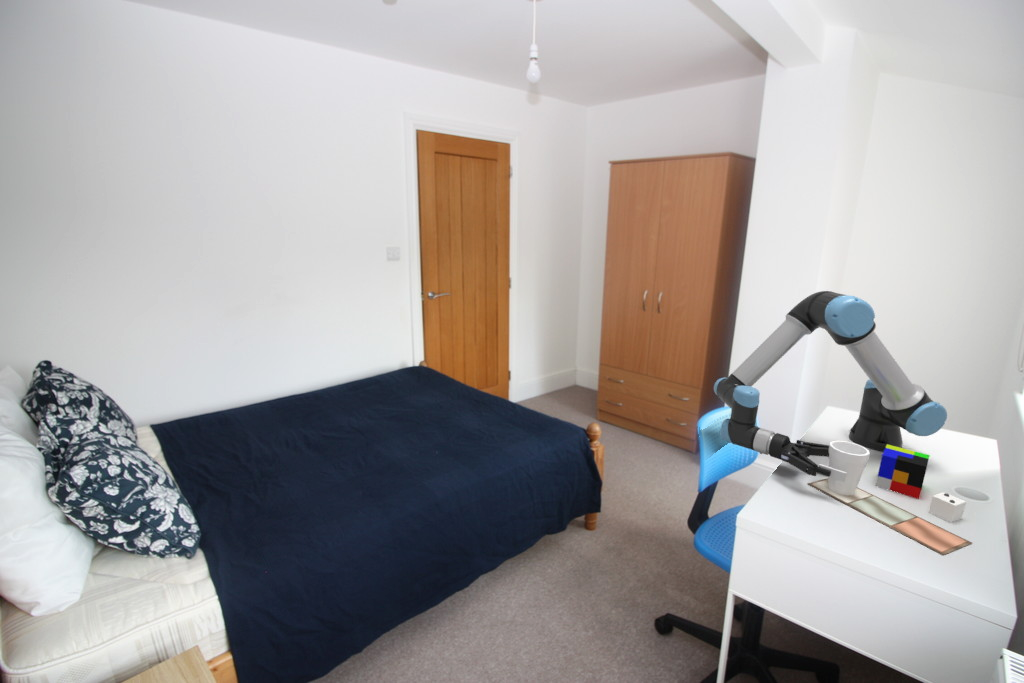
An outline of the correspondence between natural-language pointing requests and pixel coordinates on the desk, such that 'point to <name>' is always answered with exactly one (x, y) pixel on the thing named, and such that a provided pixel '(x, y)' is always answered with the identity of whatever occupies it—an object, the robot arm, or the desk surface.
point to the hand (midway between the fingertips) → (852, 469)
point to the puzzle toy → (902, 471)
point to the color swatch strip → (898, 519)
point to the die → (947, 507)
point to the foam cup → (847, 465)
